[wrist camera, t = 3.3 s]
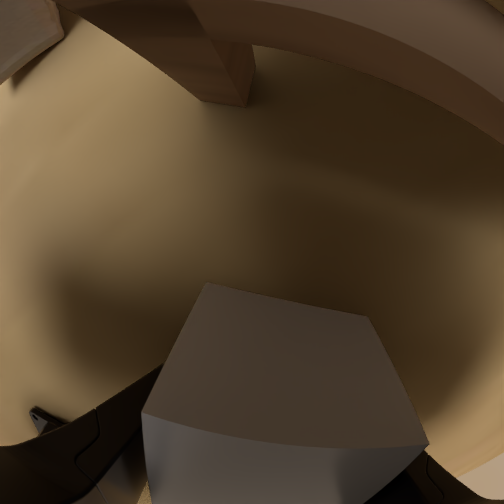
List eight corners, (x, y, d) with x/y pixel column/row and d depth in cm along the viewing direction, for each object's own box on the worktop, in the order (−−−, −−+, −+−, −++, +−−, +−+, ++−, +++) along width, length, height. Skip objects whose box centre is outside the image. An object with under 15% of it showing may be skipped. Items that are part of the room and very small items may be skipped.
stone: (314, 419, 10) (325, 529, 5) (188, 396, 10) (152, 507, 5) (367, 315, 8) (429, 443, 4) (206, 281, 8) (140, 412, 4)
